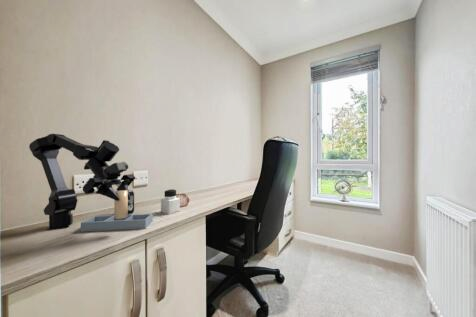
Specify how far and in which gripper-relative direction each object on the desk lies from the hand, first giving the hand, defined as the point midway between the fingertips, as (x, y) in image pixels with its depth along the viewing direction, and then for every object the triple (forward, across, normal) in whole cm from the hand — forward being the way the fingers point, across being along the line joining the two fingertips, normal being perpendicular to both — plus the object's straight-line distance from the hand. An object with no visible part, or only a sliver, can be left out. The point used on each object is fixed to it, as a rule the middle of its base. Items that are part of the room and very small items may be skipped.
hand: (124, 198), depth 72 cm
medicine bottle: (+9, +31, +10) cm, 34 cm away
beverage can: (-6, +23, +25) cm, 35 cm away
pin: (+4, 0, +6) cm, 7 cm away
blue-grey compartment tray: (+3, +6, +16) cm, 17 cm away
